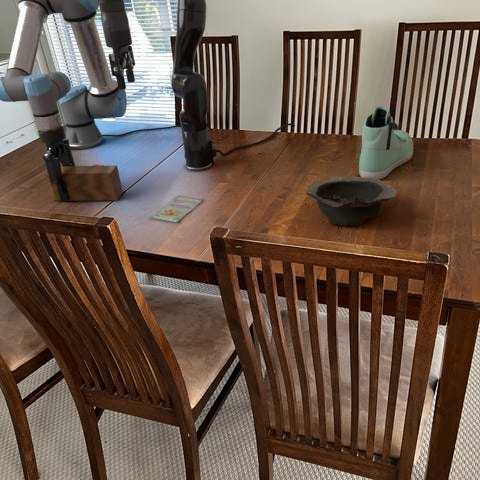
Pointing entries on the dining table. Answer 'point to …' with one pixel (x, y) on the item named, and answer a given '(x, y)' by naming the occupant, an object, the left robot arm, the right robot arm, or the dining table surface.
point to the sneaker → (383, 145)
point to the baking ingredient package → (176, 209)
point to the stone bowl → (350, 198)
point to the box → (90, 183)
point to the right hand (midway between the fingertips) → (127, 85)
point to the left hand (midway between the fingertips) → (69, 195)
